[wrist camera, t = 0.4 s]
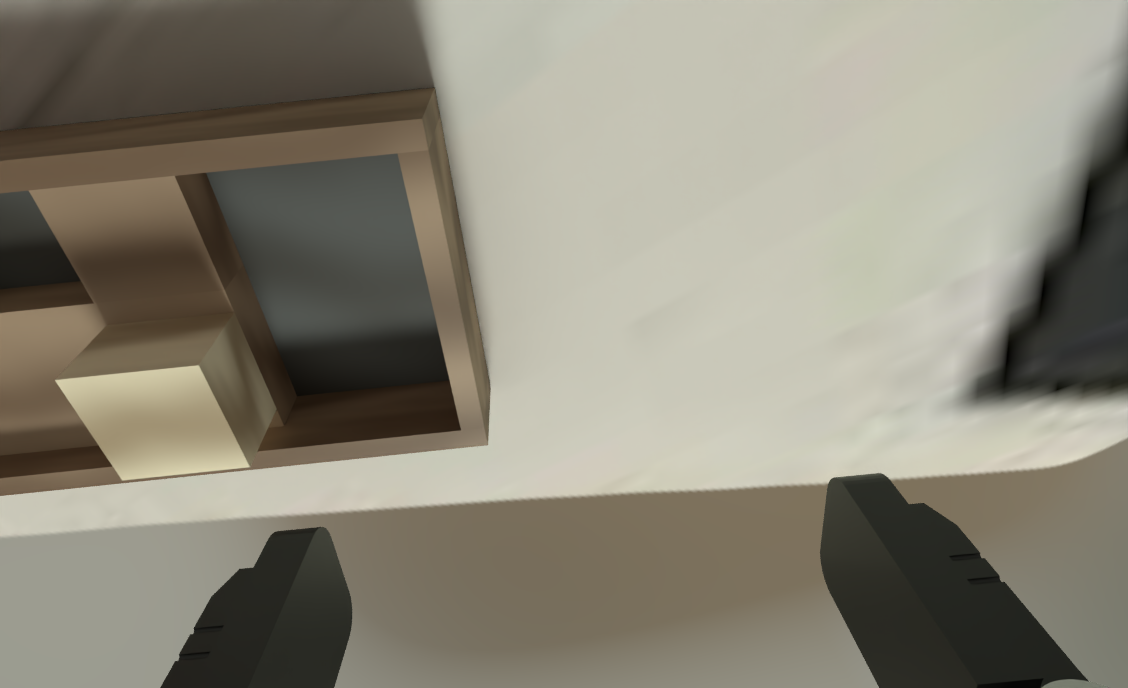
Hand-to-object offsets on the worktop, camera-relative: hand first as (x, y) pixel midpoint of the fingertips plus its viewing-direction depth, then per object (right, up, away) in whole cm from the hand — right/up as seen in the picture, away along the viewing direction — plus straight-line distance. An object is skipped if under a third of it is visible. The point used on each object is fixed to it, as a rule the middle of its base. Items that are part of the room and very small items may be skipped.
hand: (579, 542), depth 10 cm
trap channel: (-17, +5, +17) cm, 25 cm away
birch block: (-15, +2, +16) cm, 23 cm away
